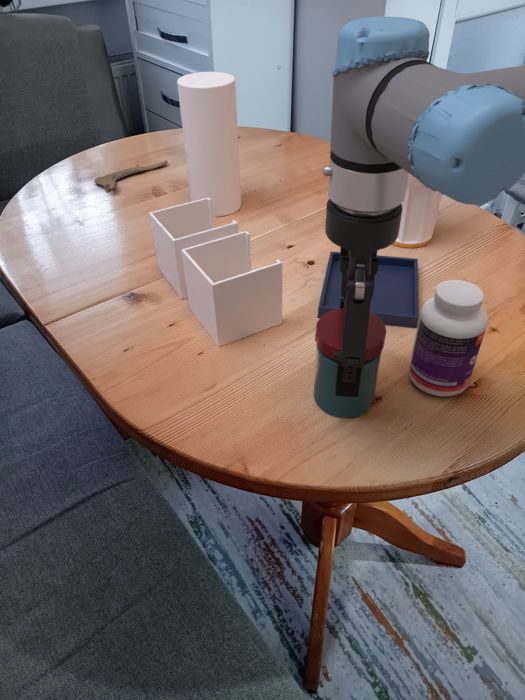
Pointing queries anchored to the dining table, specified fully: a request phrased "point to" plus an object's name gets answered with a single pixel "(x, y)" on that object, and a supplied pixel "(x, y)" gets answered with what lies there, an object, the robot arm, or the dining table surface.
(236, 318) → the storage container
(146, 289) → the dining table surface
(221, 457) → the dining table surface
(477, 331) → the pill bottle
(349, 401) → the jar
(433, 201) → the cup
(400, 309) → the tray
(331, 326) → the lid
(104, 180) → the tan bone
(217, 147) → the tall pillar cylinder
